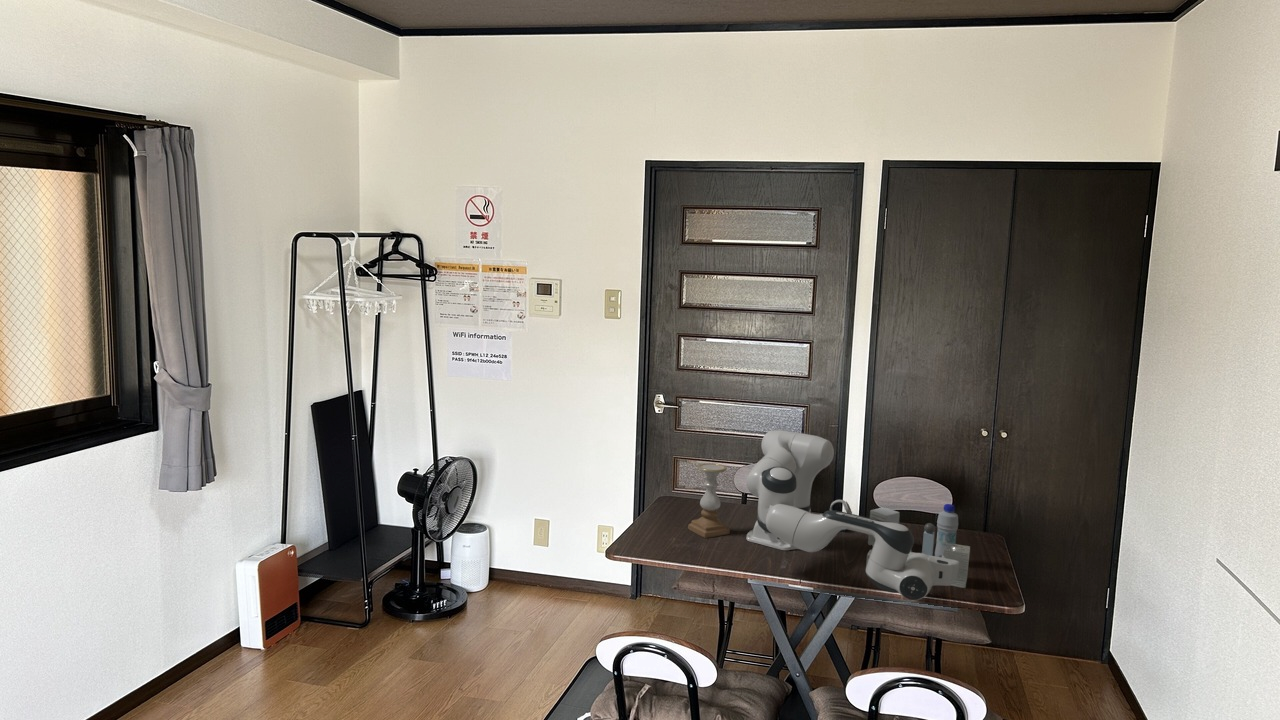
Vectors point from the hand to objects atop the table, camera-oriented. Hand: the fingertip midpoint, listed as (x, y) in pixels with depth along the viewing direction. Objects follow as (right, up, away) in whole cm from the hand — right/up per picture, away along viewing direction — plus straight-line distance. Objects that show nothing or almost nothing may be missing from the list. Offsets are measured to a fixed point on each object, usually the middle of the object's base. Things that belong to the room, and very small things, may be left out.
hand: (925, 554), depth 256 cm
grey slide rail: (+2, -10, +14) cm, 18 cm away
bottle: (+15, -9, +27) cm, 32 cm away
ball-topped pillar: (+5, -9, +12) cm, 16 cm away
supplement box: (-1, -6, +41) cm, 42 cm away
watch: (-12, -4, +57) cm, 58 cm away
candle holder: (-61, -3, +48) cm, 78 cm away
